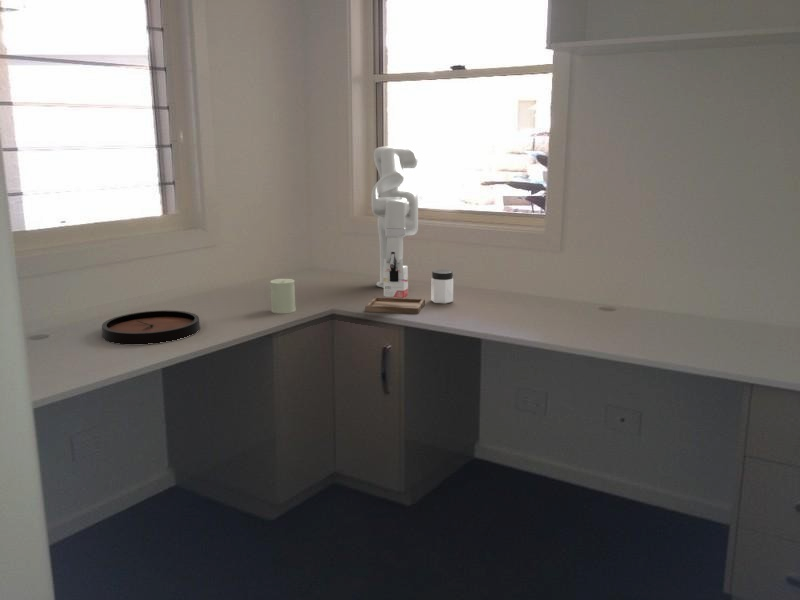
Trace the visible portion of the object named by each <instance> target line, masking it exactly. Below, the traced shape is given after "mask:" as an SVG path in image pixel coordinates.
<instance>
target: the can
mask: <svg viewBox="0 0 800 600" xmlns="http://www.w3.org/2000/svg"><path fill="white" fill-rule="evenodd" d="M269 285H270V302H271V304H270V305H271V307H270V308H271V310H270V312H271V313H273V314H277V315H279V314H280V315H286V314H292V313H294V312H296V311H297V309H296V295H295V294H296V292H295V279H292V278H276V279H271V280H270V281H269Z"/></svg>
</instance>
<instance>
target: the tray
mask: <svg viewBox="0 0 800 600" xmlns="http://www.w3.org/2000/svg"><path fill="white" fill-rule="evenodd" d="M425 304H426V300H425V298H410V297H409V298H408V297H404V298H397V297H384V296H383V297H382V296H379V297H378V296H374V298H372V300H370V301H369V302H368V304H366V306H365V312H371V313H391V314H393V313H394V314H417V315H418V314H420V311H422V308H423V307H424V306H425Z"/></svg>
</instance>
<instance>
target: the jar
mask: <svg viewBox="0 0 800 600" xmlns="http://www.w3.org/2000/svg"><path fill="white" fill-rule="evenodd" d="M453 276H454V274H453V271H452V270H450V269H435V270H432V271H431V279H430V281H431V284H430V292H431V293H430V301H432V302H433V303H434V304H448V303H452V302H454V278H453Z"/></svg>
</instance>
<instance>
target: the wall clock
mask: <svg viewBox="0 0 800 600" xmlns="http://www.w3.org/2000/svg"><path fill="white" fill-rule="evenodd" d="M199 329H201V325H200V317H199V315H197V314H196V313H194V312H189V311H185V310H184V311H183V310H170V309H168V310H167V309H165V310H148V311H147V310H146V311H139V312H131V313H127V314H122V315H118V316H116V317H112V318H109V319H107V320H105V321H104V322H103V323H102V324H101V334H102V339H103V338H104V339H105V340H104V339H103V340H104V341H106V342H108V341H109V342H108V343H111V342H114V343H113V344H116V343H120V344H119V345H124V344H148V343H158V344H161V343H160V342H166V341H171V342H173V341H172V340H176V341H178V340H177V339H180V338H184V337H187V336H189V335H192V334H194V333H196V332H197V331H198V330H199ZM199 331H200V330H199ZM199 331H198V332H199ZM198 332H197V333H198ZM197 333H196V334H197ZM194 335H195V334H194ZM192 336H193V335H192ZM187 338H188V337H187ZM184 339H185V338H184ZM180 340H181V339H180ZM166 343H167V342H166ZM148 345H149V344H148Z"/></svg>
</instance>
